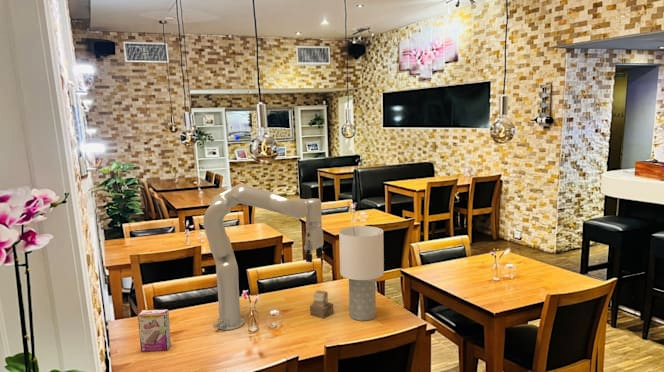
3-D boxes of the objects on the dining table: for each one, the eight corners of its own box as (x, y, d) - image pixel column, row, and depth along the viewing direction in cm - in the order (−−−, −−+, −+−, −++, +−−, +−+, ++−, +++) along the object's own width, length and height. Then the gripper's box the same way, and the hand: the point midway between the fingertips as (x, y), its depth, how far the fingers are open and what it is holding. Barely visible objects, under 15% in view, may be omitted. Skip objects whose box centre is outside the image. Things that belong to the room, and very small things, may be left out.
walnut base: (323, 319, 213) (323, 309, 212) (310, 315, 217) (309, 305, 217) (333, 313, 219) (333, 303, 218) (320, 309, 224) (320, 300, 223)
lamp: (373, 304, 228) (372, 224, 222) (391, 321, 208) (390, 233, 202) (335, 310, 222) (333, 228, 216) (349, 328, 202) (347, 238, 196)
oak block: (323, 307, 214) (322, 295, 213) (313, 305, 217) (313, 293, 216) (327, 303, 219) (327, 291, 218) (318, 301, 221) (318, 290, 220)
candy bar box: (140, 352, 186) (137, 314, 183) (145, 346, 190) (141, 309, 188) (167, 351, 186) (164, 313, 184) (171, 345, 191) (168, 308, 188)
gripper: (311, 229, 205) (312, 265, 207) (329, 221, 220) (329, 255, 222) (297, 227, 208) (298, 263, 210) (315, 220, 223) (316, 253, 226)
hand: (314, 259), depth 216 cm, fingers open, 9 cm apart
